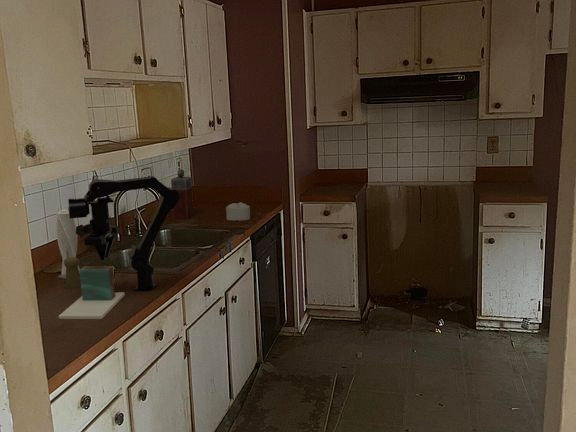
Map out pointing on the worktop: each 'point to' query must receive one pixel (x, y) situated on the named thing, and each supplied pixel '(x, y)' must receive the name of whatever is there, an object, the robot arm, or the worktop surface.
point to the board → (91, 308)
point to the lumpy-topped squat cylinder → (238, 211)
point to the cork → (72, 273)
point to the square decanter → (183, 196)
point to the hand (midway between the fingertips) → (104, 258)
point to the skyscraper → (66, 237)
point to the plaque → (97, 283)
